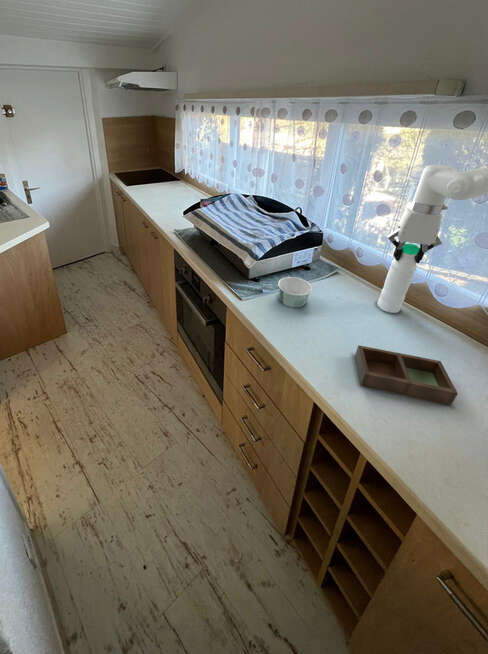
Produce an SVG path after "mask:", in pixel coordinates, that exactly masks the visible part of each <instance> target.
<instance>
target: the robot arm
mask: <svg viewBox="0 0 488 654" xmlns="http://www.w3.org/2000/svg"><path fill="white" fill-rule="evenodd" d="M487 195H488V166H484V167H478V168H471V169H467V170H456V168H455V167H454V166H450V165H445V164H429V165H427V166H425V167H424V168H423V170H422V172H421V175H420V178H419V181H418V183H417V187H416V190H415V192H414V196H413V199H412V201H411V204H410V207H409V208H406V209H405V211H404V212H403V214H402V216H401V218H400V219H399V221H398V224H397V226H396V229H395V230H394V231H393V232H391V233H390V234H388V235H387V236H386V237H387V239H388V240H389V241H390V242H391V243H392V245H393V246H394V247H395V248H394V251H393V254H392V256H393V258H394V259H395V260H396V261H399V259H400V257H401V254H402V247H403V246H404V245H405V243H409V244H418V245H419V252H418V254H417V255H416V256H415V260H416V264H420V261H423V258H424V255H425V254H426V253H428V252H429V251H430V250H431V249H433V248H435V247H438V246H441V245H442V240H441V239H440V237H439V236H438V234H439V231H440V228H441V223H442V216H443V214H442V212H443V211H447V210H448V208H449V205H446V204H445V201H446V199H447V198H448V199H451V200H454V201H466V200H469V199H473V198H477V197H481V196H487ZM396 237H397V240H396V239H395V238H396Z"/></svg>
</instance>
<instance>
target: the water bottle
mask: <svg viewBox="0 0 488 654" xmlns="http://www.w3.org/2000/svg"><path fill="white" fill-rule="evenodd" d="M419 248H420V246H418V245H416V244H415V243H409V242H406V243H405V245H404V246H403V247H402V254H401V257H400V259H399V261H396V260H395V258H394V259H392V261H391V263H390V268H389V270H388V272H387V274H386V278H385V280H384V284H383V287H382V290H381V292H380V296H379V298H378V300H377V307H378V308H379V309H380V310H382V311H384V312H386V313H390V314H396V313H399V312H400V311H401V309H402V306H403V302H404V301H405V298H406V295H407V293H408V291H409V288H410V286H411V283H412V280H413V278H414V275H415V272H417V271H416V270H417V268H418V267H417V266H418V265H417V263H416V260H415V256H416V255H417V254H418V252H419Z"/></svg>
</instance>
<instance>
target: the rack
mask: <svg viewBox="0 0 488 654" xmlns="http://www.w3.org/2000/svg"><path fill="white" fill-rule="evenodd" d="M354 361H355V365H356V370H357V374H358V375H357V376H358V379H359V384H360V386H361V387H366V388H370V389H373V390H374V389H375V390H379V391H382V392H383V391H384V392H388V393H392V394H397V395H400V396H401V395H402V396H406V397H410V398H414V399H420V400H423V401H428V402H431V403H437V404H440V405H446V406H450V407H451V406H452V404H453V402H454V401H455V399H456V398H457V396H458V395H459V393H458V391H457V389H456V387H455V386H454V383H453V382H452V380H451V378H450V376H449V374H448V372H447V370H446V367H444V364H443V362H442V361H441V360H438V359H437V360H436V359H432V358H427V357H422V356H417V355H411V354H408V353H407V354H406V353H402V352H396V351H392V350H391V351H390V350H385V349H380V348H375V347H370V346H366V345H365V346H364V345H360V344H358V345H357V348H356V351H355V354H354Z"/></svg>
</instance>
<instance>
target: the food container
mask: <svg viewBox="0 0 488 654" xmlns="http://www.w3.org/2000/svg"><path fill="white" fill-rule="evenodd" d="M277 287H278V290H279V292H278V293H279V300H280V302H281V304H283V305H284V306H287V307H291V308H302V307H303V306H305V304H306V302H307V300H308V298H309V296H310V294H311V293H312V291H313V286H312V285H311V283H309V282H308V281H307V280H305V279H303V278H300V277H296V276H286V277H283V278H280V279H279V280H278V282H277Z"/></svg>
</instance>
